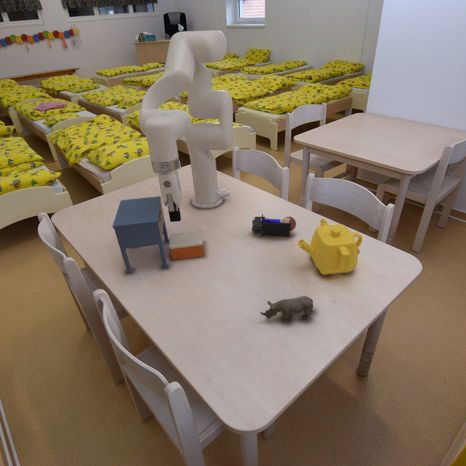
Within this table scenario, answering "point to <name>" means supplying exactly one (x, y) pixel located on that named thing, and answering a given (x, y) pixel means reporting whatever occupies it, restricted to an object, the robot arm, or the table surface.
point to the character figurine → (273, 226)
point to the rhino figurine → (290, 307)
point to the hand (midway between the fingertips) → (175, 220)
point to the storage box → (186, 245)
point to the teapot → (333, 248)
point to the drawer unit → (139, 226)
